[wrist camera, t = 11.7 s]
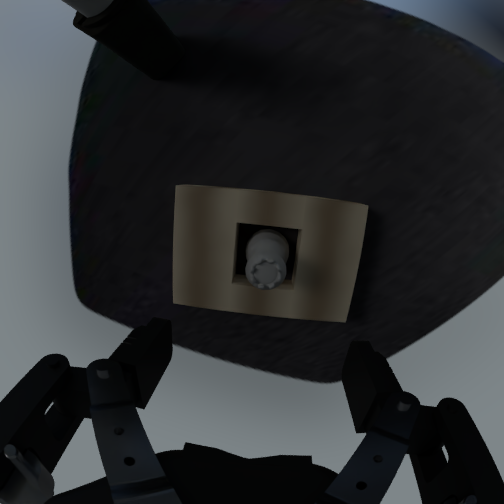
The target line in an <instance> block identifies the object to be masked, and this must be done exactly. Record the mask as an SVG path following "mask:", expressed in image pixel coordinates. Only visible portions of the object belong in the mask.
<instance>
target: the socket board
mask: <svg viewBox="0 0 504 504" xmlns="http://www.w3.org/2000/svg"><path fill="white" fill-rule="evenodd" d="M367 213H368V206H367V205H364V204H361V203H355V202H349V201H342V200H336V199H329V198H321V197H314V196H306V195H298V194H290V193H281V192H272V191H262V190H252V189H241V188H230V187H217V186H202V185H176V193H175V212H174V238H173V303H175V304H182V305H188V306H195V307H201V308H208V309H216V310H223V311H231V312H239V313H247V314H255V315H265V316H274V317H284V318H295V319H306V320H319V321H333V322H346V319H347V315H348V311H349V307H350V303H351V298H352V294H353V290H354V285H355V280H356V276H357V271H358V266H359V261H360V255H361V250H362V244H363V239H364V233H365V226H366V220H367ZM240 223H247V224H257V225H266V226H276V227H285V228H293V229H299V230H298V238H297V246H296V253H295V260H294V268H293V275H292V280H287V279H284V281H283V282H282V283H281V284H280V285H279V286H278V287H276V288H274V289H272V290H261V289H258V288H256V287H254V286H253V285H252V284H251V283H250V282H249V280H248V279H247V277H246V275H241V274H236V264H237V252H238V240H239V228H240Z"/></svg>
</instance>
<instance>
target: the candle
mask: <svg viewBox="0 0 504 504" xmlns="http://www.w3.org/2000/svg"><path fill="white" fill-rule="evenodd" d="M62 1H63V2H65V3H67V4H68V5H70V6H71V7H72V8H74V9H75V10H77V12H76V16H75V18H74V20H73V25H74V26H75V27H76V28H78V29H79V30H81V31H83V32H84V33H86V34H87V35H89V36H91V37H92V38H94V39H95V40H97V41H98V42H100V43H101V44H103V45H104V46H106V47H107V48H109V49H110V50H112V51H113V52H115V53H116V54H117V55H119V56H120V57H122V58H123V59H125V60H126V61H128V62H129V63H130V64H132V65H133V66H135V67H136V68H137V69H139V70H141V71H142V72H143V73H145V74H146V75H147V76H149V77H150V78H151V79H154V80H159V79H161V78H163V77H164V76H165V75H166V74H167V73H168V72H169V71H170V70H171V69H172V68H173V67H174V66H175V65H176V64H177V63H178V61H179V60H180V59H181V58H182V57H183V56H184V54H185V49H184V47H183V46H182V44H181V43H180V42H179V40H178V39H177V38H176V36H175V35H174V34H173V32H172V31H171V30H170V28H169V27H168V26H167V25H166V23H165V22H164V21H163V19H162V18H161V17H160V16H159V14H158V13H157V12H156V11H155V9H154V8H153V7H152V6H151V4H150V3H149V2H148V1H147V0H62Z"/></svg>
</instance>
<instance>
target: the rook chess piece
mask: <svg viewBox="0 0 504 504" xmlns="http://www.w3.org/2000/svg"><path fill="white" fill-rule="evenodd" d="M288 257H289V245H288V242H287V240H286V238H285V237H284V236H283V235H282V234H280V233H279V232H278V231H275V230H272V229H264V230H260V231H258V232H256V233H254V234H253V235H252V236H251V237H250V238H249V240H248V242H247V245H246V259H247V261H248V262H247V265H246V268H245V270H246V277H247V279H248V280H249V282H250V283H251V284H252V285H253V286H254V287H256V288H258V289H261V290H272V289H274V288H276V287H278V286H279V285H280V284H281V283H282V282H283V281H284V279H285V276H286V265H285V264H286V262H287V260H288Z"/></svg>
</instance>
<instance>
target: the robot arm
mask: <svg viewBox="0 0 504 504" xmlns="http://www.w3.org/2000/svg"><path fill="white" fill-rule="evenodd" d="M172 351H173V347H172V328H171V321H170V320H167V319H161V318H156V317H154V318H152V320H151V321H150V322H149V323H148V324H147V326H140V327H138V328H136V329H134V330H133V331H132V332H131V333H130V334H129V335H128V337H127V338H126V339H125V340H124V341H123V343H121V344H120V346H119V347H118V348H117V349H116V350H115V351H114V352H113V354H112V355H111V356H110V357H109V358H108V359H99V360H95V361H93V362H91V363H90V364H89V365H88V367H87V368H81V367H71V366H70V364H69V361H68V359H67V358H66V357H65V356H63V355H61V354H50V355H47V356H45V357H43V358H42V359H41V360H40V361H39V362H38V363H37V364H36V365H35V366H34V367H33V368H32V369H31V370H30V371H29V372H28V373H27V374H26V375H25V376H24V377H23V378H22V379H21V380H20V381H19V382H18V383H17V385H16V386H15V387H14V388H13V389H12V390H11V391H10V392H9V393H8V394H7V395H6V397H5V398H4V399H3V400H2V401H1V402H0V503H1V504H380V502H381V501H382V498H383V497H384V495H385V493H386V492H387V490H388V488H389V486H390V485H391V483H392V480H393V479H394V477H395V475H396V473H397V470H398V468H399V467H400V465H401V463H402V460H403V458H404V456H405V454H409V455H410V459H411V462H412V466H413V469H414V473H415V477H416V480H417V484H418V488H419V492H420V496H421V500H422V504H504V482H503V480H502V478H501V476H500V473H499V471H498V469H497V466H496V464H495V462H494V460H493V458H492V456H491V454H490V452H489V450H488V448H487V446H486V444H485V442H484V440H483V439H482V436H481V435H480V433H479V431H478V429H477V427H476V425H475V423H474V421H473V420H472V418H471V416H470V414H469V413H468V411H467V409H466V408H465V406H464V405H463V403H462V402H460V401H458V400H457V399H454V398H444V399H442V400H441V401H440V402H439V403H438V405H437V407H432V406H424V405H420V402H419V400H418V398H416V396H414V395H413V394H411V393H409V392H405V391H403V390H402V388H401V386H400V384H399V382H398V381H397V379H396V377H395V375H394V373H393V371H392V369H391V367H389V364H388V362H387V360H386V358H385V357H384V356H382V355H381V354H380V353H379V352H374V350H373V348H372V346H371V344H370V342H369V341H352V342H351V344H350V347H349V350H348V353H347V356H346V359H345V362H344V366H343V369H342V383H343V386H344V389H345V393H346V397H347V400H348V404H349V408H350V411H351V415H352V418H353V422H354V426H355V430H356V433H366V436H365V438H364V439H363V441H362V442H361V444H360V445H359V447H358V448H357V450H356V451H355V452H354V454H353V455H352V457H351V458H350V460H349V461H348V462H347V464H346V465H345V466H344V468H343V469H342V471H341V472H340V473H339V474H337V473H336V472H334V471H332V470H330V469H328V468H325V467H323V466H319V465H315V464H312V456H297V455H294V456H293V455H278V456H270V457H263V458H252V459H248V458H243V457H240V456H237V455H234V454H231V453H228V452H226V451H223V450H220V449H217V448H212V447H207V446H202V445H196V444H192V443H187V442H186V443H185V445H184V448H183V450H170V451H164V452H160V453H157V454H155V453H154V451H153V449H152V446H151V444H150V442H149V439H148V437H147V435H146V432H145V430H144V428H143V425H142V423H141V420H140V418H139V415H138V412H137V410H136V407H138V408H141V409H145V407H146V405H147V403H148V402H149V399H150V398H151V396H152V394H153V392H154V390H155V388H156V387H157V385H158V383H159V381H160V379H161V377H162V375H163V374H164V372H165V370H166V368H167V366H168V365H169V362H170V360H171V357H172ZM52 402H53V403H54V404H53V405H52V406H51V408H50V409H49V410H48V412H47V413H46V414H45V412H46V409H47V408H48V407H49V406H50V404H51V403H52ZM84 418H90V419H92V423H93V428H94V432H95V437H96V440H97V445H98V448H99V452H100V456H101V459H102V463H103V466H104V470H105V473H106V477H104V478H101V479H98V480H96V481H94V482H91V483H89V484H86V485H83V486H80V487H78V488H75V489H72V490H69V491H66V492H63V493H60V494H57V495H55V496H53V495H54V491H53V490H54V479H53V477H52V475H51V473H52V472H53V470H54V468H55V467H56V465H57V463H58V461H59V460H60V458H61V456H62V454H63V453H64V451H65V449H66V447H67V446H68V444H69V442H70V441H71V439H72V437H73V435H74V434H75V432H76V430H77V429H78V427H79V426H80V424H81V422H82V421H83V419H84ZM443 446H445V448H446V450H447V453H448V456H449V460H448V463H447V460H446V458H445V455H444V453H443V450H442V447H443Z"/></svg>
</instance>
